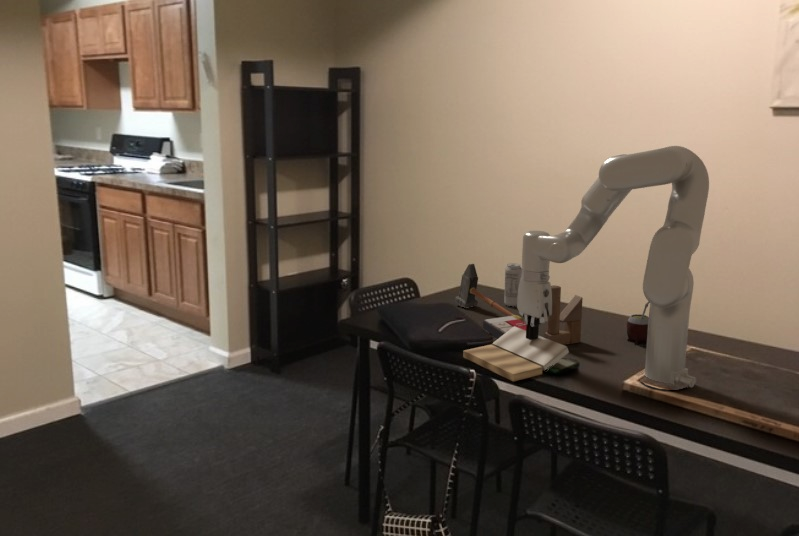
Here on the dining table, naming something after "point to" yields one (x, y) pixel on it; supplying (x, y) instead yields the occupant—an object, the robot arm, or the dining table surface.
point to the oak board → (502, 362)
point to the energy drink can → (512, 283)
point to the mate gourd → (638, 327)
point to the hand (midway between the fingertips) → (531, 338)
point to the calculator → (502, 325)
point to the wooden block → (564, 319)
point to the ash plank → (531, 348)
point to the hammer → (475, 292)
